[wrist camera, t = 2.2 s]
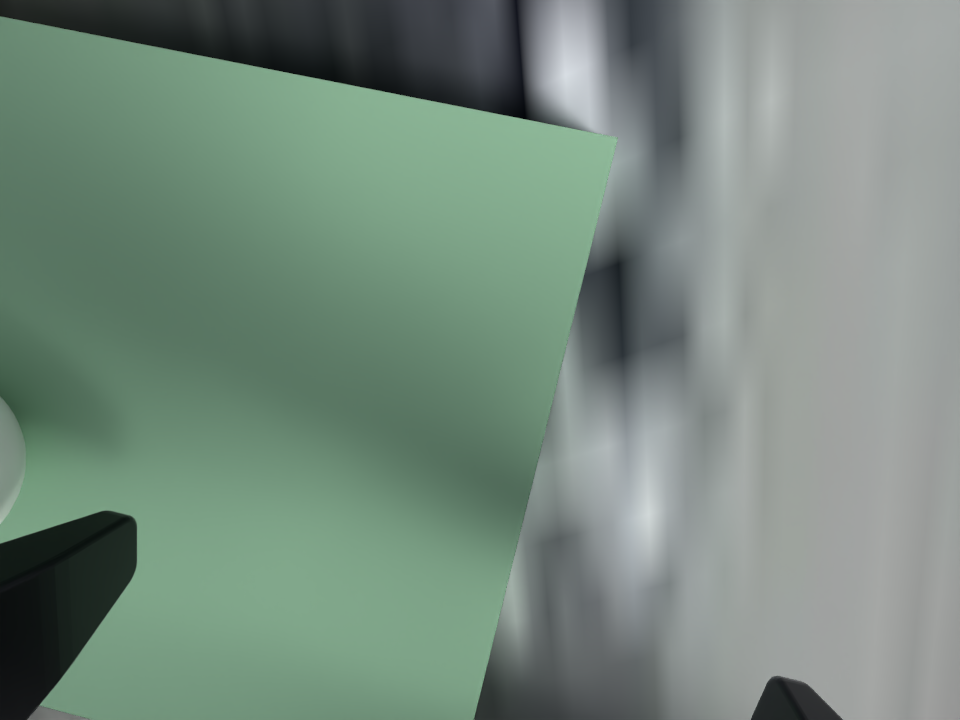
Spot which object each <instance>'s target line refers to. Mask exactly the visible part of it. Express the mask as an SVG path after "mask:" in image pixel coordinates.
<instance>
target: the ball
mask: <svg viewBox="0 0 960 720" xmlns="http://www.w3.org/2000/svg"><path fill="white" fill-rule="evenodd" d="M25 469H26V448H25V441H24V437H23V433H22V431H21V428H20V426H19V423H18V421H17V419H16V417H15V415H14V413H13V412H12V410H11V409H10V407H9V406H8V405H7V403H6V402H5V401H4V400H3V399H2V398H1V397H0V524H1V523H2V522H3V520H4V519H5V518H6V516H7V515H8V514H9V512H10V510H11V508H12V506H13V505H14V503H15V501H16V499H17V497H18V495H19V492H20V489H21V486H22V483H23V479H24V475H25Z"/></svg>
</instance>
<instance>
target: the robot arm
mask: <svg viewBox="0 0 960 720" xmlns="http://www.w3.org/2000/svg"><path fill="white" fill-rule="evenodd" d="M136 567H137V522H136V520H135V518H133V517H132V516H130V515H126V514H122V513H118V512H114V511H109V510H105V511H100V512H97V513H94V514H91V515H88V516H85V517H82V518H79V519H75V520H72V521H69V522H66V523H63V524H60V525H57V526H53V527H50V528H47V529H44V530H41V531H38V532H35V533H32V534H28V535H25V536H22V537H19V538H16V539H13V540H10V541H6V542H3V543H0V720H27V719H28V718H29V717H30V716H31V715H32V713H33V712H34V711H35V710H36V709H37V707H38V706H39V705H40V704H41V703H42V702H43V700H44V699H45V698H46V697H47V696H48V694H49V693H50V692H51V691H52V690H53V688H54V687H55V686H56V685H57V683H58V682H59V681H60V680H61V678H62V677H63V676H64V674H65V673H66V672H67V670H68V669H69V668H70V666H71V665H72V664H73V662H74V661H75V660H76V658H77V657H78V655H79V654H80V652H81V651H82V650H83V648H84V647H85V645H86V644H87V643H88V641H89V640H90V638H91V637H92V635H93V634H94V633H95V631H96V630H97V628H98V627H99V626H100V624H101V623H102V621H103V620H104V618H105V617H106V616H107V614H108V613H109V611H110V610H111V608H112V607H113V606H114V604H115V603H116V601H117V600H118V599H119V597H120V596H121V594H122V593H123V591H124V590H125V589H126V587H127V586H128V584H129V583H130V581H131V580H132V578H133V576H134V573H135V571H136ZM751 720H843V719H842V718H841V717H840V716H839V715H838V714H837V713H836V712H835V711H834V710H833V709H832V708H831V707H830V706H829V705H828V704H827V703H826V702H825V701H824V700H823V699H822V698H821V697H820V696H819V695H818V694H817V693H816V692H815V691H814V690H813V689H812V688H811V687H810V686H808V685H807V684H806V683H804V682H801V681H797V680H793V679H789V678H785V677H781V676H774V677H772V678H771V679H770V680H769V681H768V683H767V684H766V687H765V689H764V691H763V693H762V696H761V698H760V700H759V702H758V704H757V707H756V709H755V711H754V713H753V715H752V718H751Z"/></svg>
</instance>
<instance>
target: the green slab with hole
mask: <svg viewBox="0 0 960 720" xmlns="http://www.w3.org/2000/svg"><path fill="white" fill-rule="evenodd" d="M617 139H618V138H617V137H612V136H607V135H602V134H597V133H592V132H587V131H582V130H576V129H571V128H566V127H561V126H556V125H551V124H546V123H541V122H536V121H531V120H525V119H520V118H515V117H510V116H505V115H500V114H495V113H490V112H485V111H480V110H475V109H469V108H464V107H459V106H454V105H449V104H444V103H439V102H434V101H429V100H424V99H418V98H413V97H408V96H403V95H398V94H393V93H388V92H383V91H378V90H373V89H368V88H362V87H357V86H352V85H347V84H342V83H337V82H332V81H327V80H322V79H317V78H311V77H306V76H301V75H296V74H291V73H286V72H281V71H276V70H271V69H266V68H261V67H255V66H250V65H245V64H240V63H235V62H230V61H225V60H220V59H215V58H210V57H204V56H199V55H194V54H189V53H184V52H179V51H174V50H169V49H164V48H159V47H154V46H148V45H143V44H138V43H133V42H128V41H123V40H118V39H113V38H108V37H103V36H97V35H92V34H87V33H82V32H77V31H72V30H67V29H62V28H57V27H52V26H46V25H41V24H36V23H31V22H26V21H21V20H16V19H11V18H6V17H1V16H0V397H1V398H2V399H3V400H4V401H5V402H6V403H7V405H8V406H9V407H10V409H11V410H12V412H13V413H14V415H15V417H16V419H17V421H18V423H19V426H20V428H21V431H22V433H23V437H24V441H25V448H26V469H25V475H24V479H23V483H22V486H21V489H20V492H19V495H18V497H17V499H16V501H15V503H14V505H13V506H12V508H11V510H10V512H9V514H8V515H7V516H6V518H5V519H4V520H3V522H2V523H1V524H0V543H3V542H6V541H10V540H13V539H16V538H19V537H22V536H25V535H28V534H32V533H35V532H38V531H41V530H44V529H47V528H50V527H53V526H57V525H60V524H63V523H66V522H69V521H72V520H75V519H79V518H82V517H85V516H88V515H91V514H94V513H97V512H100V511H105V510H109V511H114V512H118V513H122V514H126V515H130V516H132V517H133V518H135V520H136V522H137V567H136V571H135V573H134V576H133V578H132V580H131V581H130V583H129V584H128V586H127V587H126V589H125V590H124V591H123V593H122V594H121V596H120V597H119V599H118V600H117V601H116V603H115V604H114V606H113V607H112V608H111V610H110V611H109V613H108V614H107V616H106V617H105V618H104V620H103V621H102V623H101V624H100V626H99V627H98V628H97V630H96V631H95V633H94V634H93V635H92V637H91V638H90V640H89V641H88V643H87V644H86V645H85V647H84V648H83V650H82V651H81V652H80V654H79V655H78V657H77V658H76V660H75V661H74V662H73V664H72V665H71V666H70V668H69V669H68V670H67V672H66V673H65V674H64V676H63V677H62V678H61V680H60V681H59V682H58V683H57V685H56V686H55V687H54V688H53V690H52V691H51V692H50V693H49V694H48V696H47V697H46V698H45V699H44V700H43V702H42V703H41V704H40V705H39V706H43V707H47V708H50V709H54V710H58V711H62V712H65V713H69V714H73V715H77V716H80V717H84V718H88V719H91V720H474V717H475V713H476V709H477V705H478V701H479V697H480V693H481V688H482V684H483V680H484V676H485V672H486V668H487V664H488V660H489V656H490V652H491V648H492V644H493V640H494V636H495V632H496V628H497V624H498V620H499V616H500V612H501V608H502V604H503V600H504V596H505V592H506V588H507V584H508V579H509V575H510V571H511V567H512V563H513V559H514V555H515V551H516V547H517V543H518V539H519V535H520V531H521V527H522V523H523V519H524V515H525V511H526V507H527V503H528V499H529V495H530V491H531V487H532V483H533V479H534V475H535V470H536V466H537V462H538V458H539V454H540V450H541V446H542V442H543V438H544V434H545V430H546V426H547V422H548V418H549V414H550V410H551V406H552V402H553V398H554V394H555V390H556V386H557V382H558V378H559V374H560V370H561V365H562V361H563V357H564V353H565V349H566V345H567V341H568V337H569V333H570V329H571V325H572V321H573V317H574V313H575V309H576V305H577V301H578V297H579V293H580V289H581V285H582V281H583V277H584V273H585V269H586V265H587V261H588V256H589V252H590V248H591V244H592V240H593V236H594V232H595V228H596V224H597V220H598V216H599V212H600V208H601V204H602V200H603V196H604V192H605V188H606V184H607V180H608V176H609V172H610V168H611V164H612V160H613V156H614V151H615V147H616V143H617Z"/></svg>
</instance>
